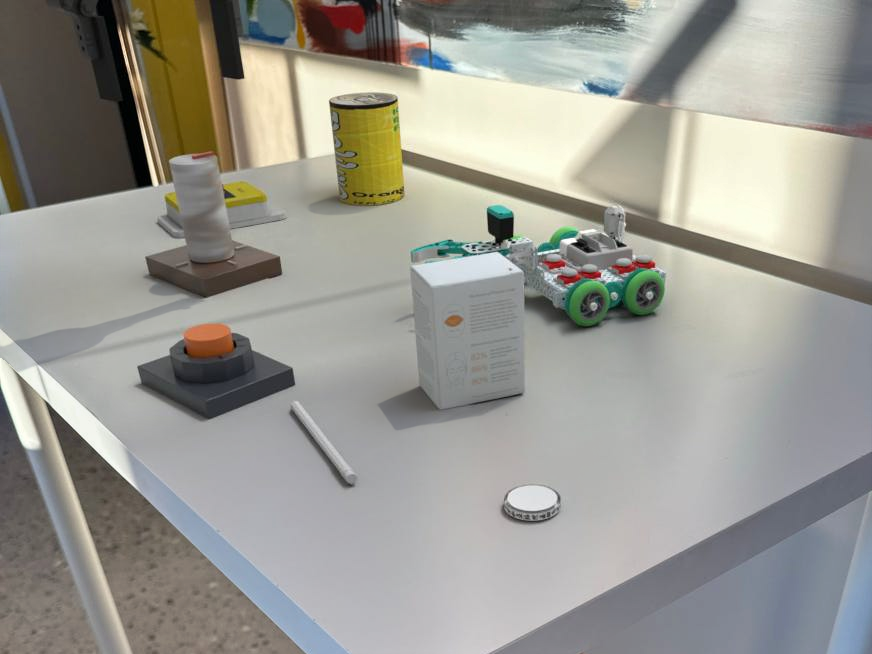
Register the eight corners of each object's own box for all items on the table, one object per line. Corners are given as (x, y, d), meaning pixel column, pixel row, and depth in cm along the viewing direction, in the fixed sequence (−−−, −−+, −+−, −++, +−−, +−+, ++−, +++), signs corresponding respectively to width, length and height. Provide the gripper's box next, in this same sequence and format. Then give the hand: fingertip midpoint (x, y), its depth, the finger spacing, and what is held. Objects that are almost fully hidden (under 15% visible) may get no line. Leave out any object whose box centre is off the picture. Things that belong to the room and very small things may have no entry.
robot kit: (394, 294, 103) (386, 201, 98) (598, 257, 111) (603, 169, 105) (463, 355, 90) (458, 252, 84) (690, 309, 98) (700, 211, 92)
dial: (205, 266, 106) (184, 164, 100) (180, 256, 109) (159, 157, 102) (243, 254, 109) (225, 154, 102) (218, 246, 112) (199, 148, 105)
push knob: (178, 352, 84) (174, 332, 83) (217, 338, 87) (213, 319, 86) (204, 364, 82) (199, 344, 81) (243, 350, 84) (239, 330, 83)
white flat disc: (550, 524, 66) (550, 516, 66) (495, 514, 68) (495, 507, 67) (567, 496, 69) (568, 488, 69) (515, 487, 71) (515, 479, 70)
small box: (501, 370, 87) (499, 250, 81) (526, 394, 83) (526, 269, 76) (417, 386, 85) (408, 263, 78) (438, 412, 81) (430, 285, 74)
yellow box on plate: (148, 185, 125) (258, 168, 130) (156, 221, 128) (264, 202, 133) (168, 201, 118) (283, 182, 124) (176, 238, 121) (288, 218, 127)
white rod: (298, 398, 82) (359, 475, 71) (294, 407, 82) (354, 485, 72) (289, 395, 81) (349, 472, 71) (285, 404, 82) (344, 482, 71)
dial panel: (149, 274, 111) (144, 255, 109) (222, 253, 116) (219, 234, 115) (207, 298, 104) (203, 277, 103) (282, 274, 110) (279, 254, 108)
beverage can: (380, 184, 139) (372, 89, 132) (417, 196, 134) (411, 98, 126) (327, 196, 135) (315, 99, 127) (363, 209, 129) (353, 108, 122)
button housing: (141, 383, 87) (131, 346, 85) (225, 353, 92) (218, 317, 90) (209, 420, 81) (200, 380, 79) (295, 385, 86) (289, 347, 84)
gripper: (217, -201, 88) (256, 66, 102) (-54, -206, 74) (33, 105, 88) (267, -207, 84) (301, 73, 98) (-9, -212, 70) (75, 114, 84)
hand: (175, 88), depth 93 cm, fingers open, 13 cm apart
